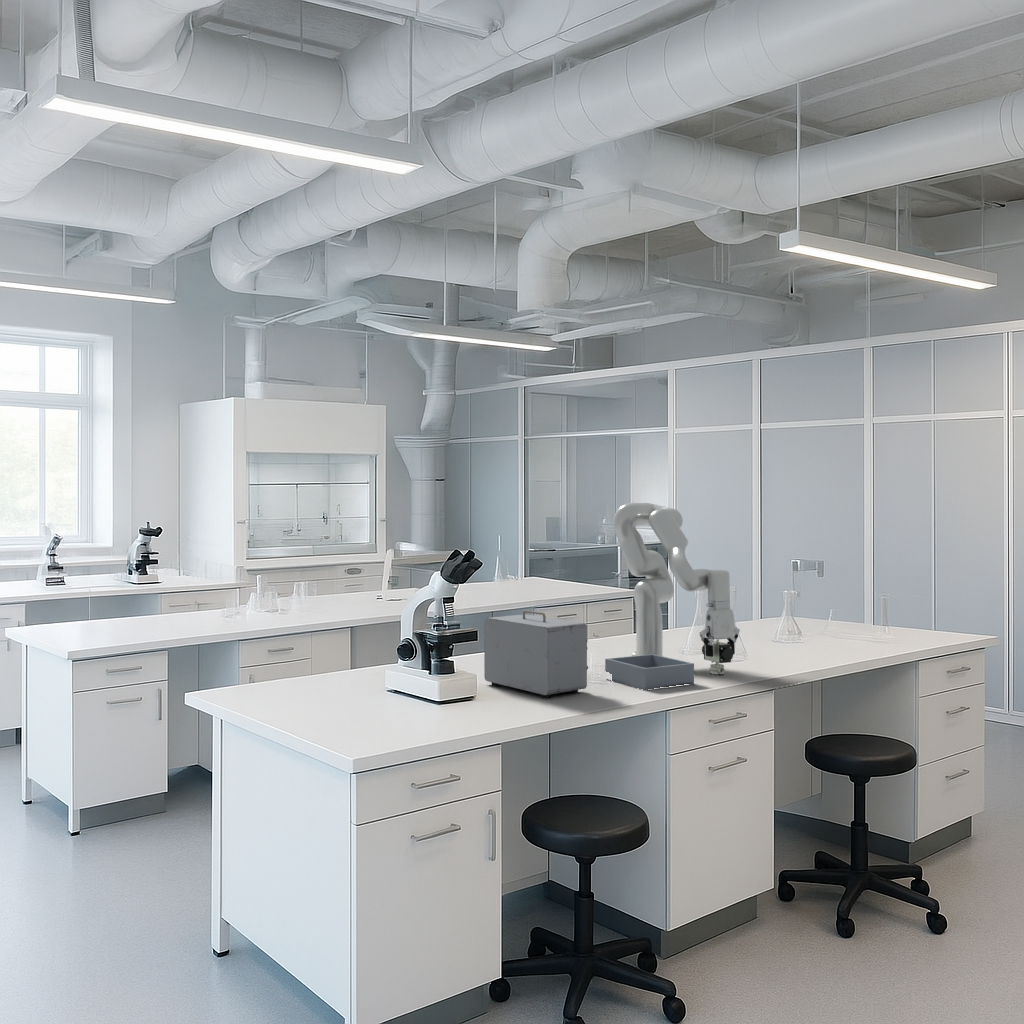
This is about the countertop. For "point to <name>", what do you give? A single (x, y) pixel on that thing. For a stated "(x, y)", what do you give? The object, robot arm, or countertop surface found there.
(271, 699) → the countertop surface
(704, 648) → the pneumatic valve
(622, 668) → the parts bin
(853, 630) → the countertop surface
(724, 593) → the robot arm
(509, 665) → the vintage electronic device
